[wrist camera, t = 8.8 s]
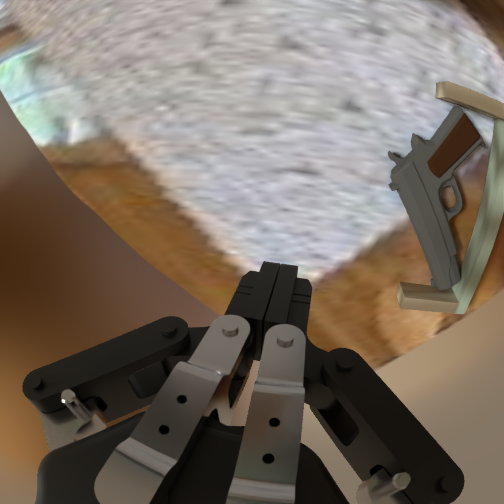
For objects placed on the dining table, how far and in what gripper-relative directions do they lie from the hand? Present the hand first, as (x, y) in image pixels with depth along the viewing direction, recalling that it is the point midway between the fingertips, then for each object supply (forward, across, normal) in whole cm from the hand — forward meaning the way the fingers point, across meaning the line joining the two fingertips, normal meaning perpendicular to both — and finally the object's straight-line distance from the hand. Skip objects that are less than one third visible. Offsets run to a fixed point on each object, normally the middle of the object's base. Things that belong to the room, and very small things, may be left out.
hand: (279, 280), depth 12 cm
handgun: (+19, -16, 0) cm, 25 cm away
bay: (+18, -17, 0) cm, 25 cm away
